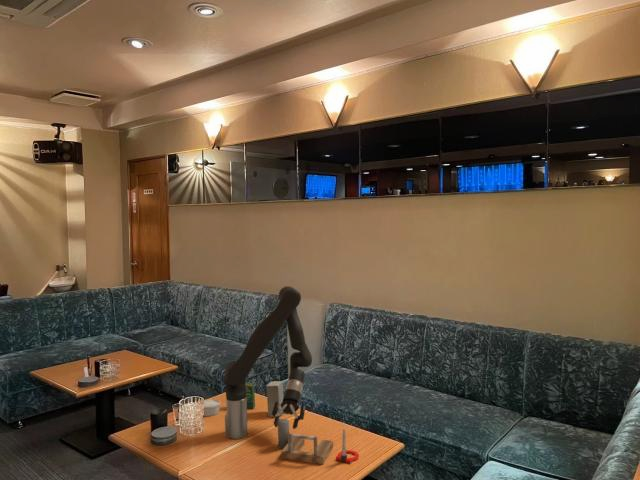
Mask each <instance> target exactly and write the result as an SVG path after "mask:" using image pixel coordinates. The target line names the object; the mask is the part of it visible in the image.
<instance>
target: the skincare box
mask: <svg viewBox="0 0 640 480" xmlns="http://www.w3.org/2000/svg"><path fill="white" fill-rule="evenodd" d="M283 385H284V384H283V381H281V380H278V381H275V380H274V381H272V380H271V381H270V382H268V384H266V386H265V387H266V388H265V389H266V400H267V401H266V402H267V403H266V404H267V417H270V418H271V417H272V418H275V417H274V416H273V415H272V412H273V408H274V405H275V403H276V402H278V403H282V402H283V398H284V389H283V387H284V386H283ZM280 409H281V407H280V408H278V411H277V413H278V412H279V410H280ZM282 412H283V411H282Z"/></svg>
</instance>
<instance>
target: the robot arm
mask: <svg viewBox="0 0 640 480" xmlns="http://www.w3.org/2000/svg"><path fill="white" fill-rule="evenodd" d="M278 299H279V302H278V304H277V306H276V307H275V309H274V310H273V311H272V312H271V313H270V314H269V315H268V316H266V317H265V318H264V319H263V320H262V321H260V322H259V324H257V326H256V328H255V329H254V330H253V332H252V333H251V335H250V337H249V339H248V341H247V343H246V345H245V348H244V349H243V352H242V353H241V355H240V356H239V358H237V360H233V361H231V362H229V363H228V364H227V365H226V367H225V370H224V382H225V383H224V384H225V386H224V388H225V399H226V400H225V405H226V407H225V408H226V414H225V415H224V429H225V430H224V431H225V432H224V433H225V437H227V438H229V439H233V440H237V439H243V438H245V437H246V436H247V435H248V433H249V432H248V408H247V394H246V384H245V383H246V379H247V377H248V375H249V374H250V372H251V370H252V369H253V366H254V365H255V363H257V360H259V359H260V357H261V356H262V354H263V353H264V352H265V350H266V349H267V348H268V346H269V345H270V343H271V342H272V341H273V339H274V338H275V336H276V335H277V333H278V332H279V331H280V329H281V327H282V326H283V325H284V323H285V321H286V325H287V326H286V327H287V330H288V337H289V341H290V342H289V344H290V346H291V349H292V350H295V351H294V352H292V353H291V355H290V357H289V369H290V370H289V376H288V381H287V384H286V386H285V391H284V393H283V402H282V403H278V402H276V403H275V405H274V408H273V412H272V415H273V416H274V417H273V418H274V420H273V425H274V427H275V428H278V420H280V418H281V417H283V416H285V415H291V416H294V418H293V419H294V420H293V424H292V429H293V430H296V429H297V428H298V426H299V421H302V420H304V417H305V410H306V406H305V405H304V404H303V403H302V404H300V401H301V398H302V394H303V385H304V381H305V376H306V374H305V371H303V370H302V369H300V368H308V367H310V366H311V365H312V363H313V356H312V353H311V352H310V350H309V347H308V345H307V343H306V339H305V334H304V330H303V326H302V323H301V320H300V317H299V315H298V310H297V308H298V306H299V305H300V303H301V300H302V295H301V293H300V291H299V290H297V289H296V288H294V287H293V286H289V285H287V286H283V287H282V288H281V289H280V290H279V293H278ZM280 407H281V409H280V410H279V412H278V413H277V411H278V408H280ZM298 410H300V411H299V415H298V412H297V411H298ZM282 411H283V412H282Z"/></svg>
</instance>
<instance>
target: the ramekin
mask: <svg viewBox="0 0 640 480" xmlns="http://www.w3.org/2000/svg"><path fill="white" fill-rule="evenodd" d="M220 406H221V401H220V400H219V399H214V398H208V399H204V416H203V417H212V415H213V416H216V415H217V414H218V413H220V408H221V407H220Z"/></svg>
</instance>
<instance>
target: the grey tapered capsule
mask: <svg viewBox="0 0 640 480" xmlns="http://www.w3.org/2000/svg"><path fill="white" fill-rule="evenodd" d="M288 434H290V419H287V418H281V419H280V418H279V420H278V426H277V436H278V437H277V438H278V439H277V443H278V448H279V450H280V449H281V450H283V449H284V447H285V446H286V445H287V444H288Z"/></svg>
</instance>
